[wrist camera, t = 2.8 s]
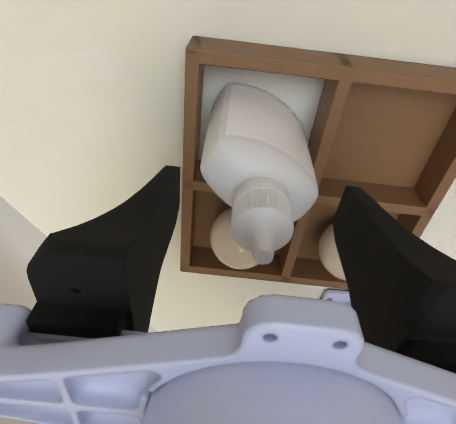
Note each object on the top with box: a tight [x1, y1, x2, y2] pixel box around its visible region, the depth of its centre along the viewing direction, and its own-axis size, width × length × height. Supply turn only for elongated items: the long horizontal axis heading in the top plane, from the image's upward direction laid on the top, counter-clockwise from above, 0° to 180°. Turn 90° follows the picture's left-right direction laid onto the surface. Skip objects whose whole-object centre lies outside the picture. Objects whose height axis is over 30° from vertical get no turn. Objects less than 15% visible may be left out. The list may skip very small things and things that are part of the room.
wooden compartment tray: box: [180, 36, 456, 289], centre depth 23 cm, size 16×16×3 cm
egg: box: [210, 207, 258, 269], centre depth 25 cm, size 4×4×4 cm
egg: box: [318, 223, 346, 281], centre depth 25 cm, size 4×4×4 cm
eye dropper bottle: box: [200, 83, 318, 265], centre depth 17 cm, size 4×6×12 cm
